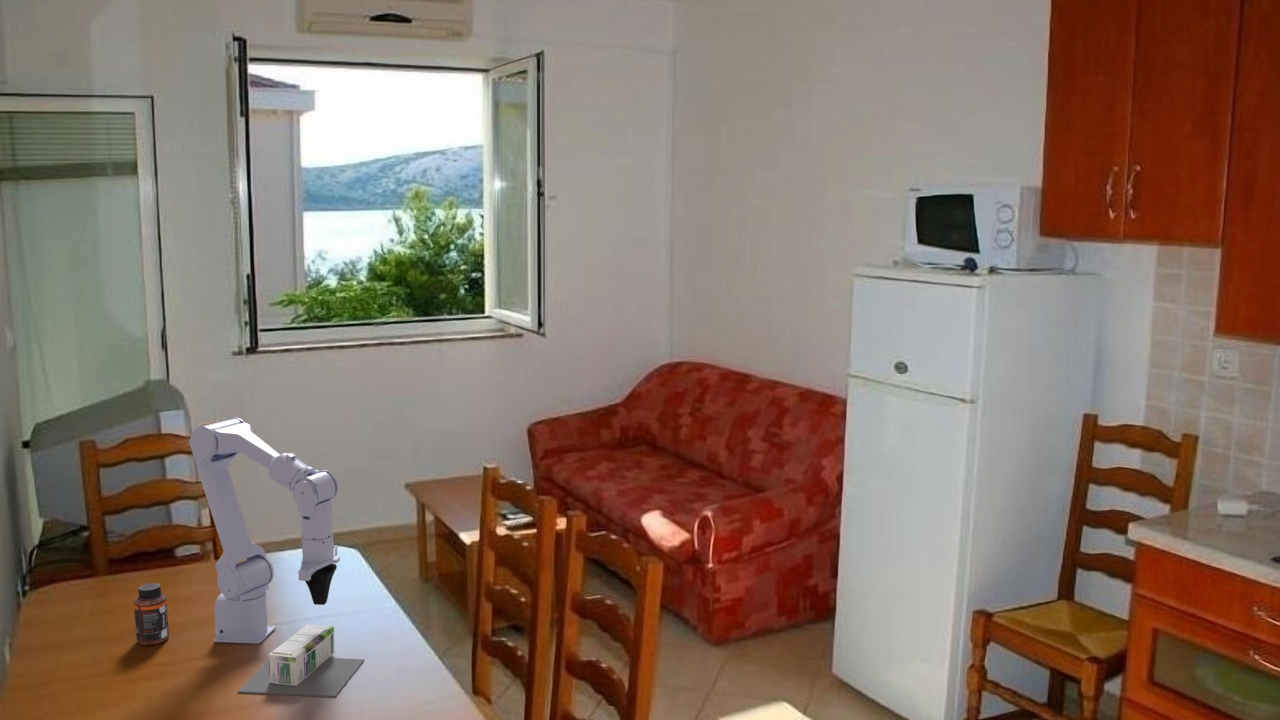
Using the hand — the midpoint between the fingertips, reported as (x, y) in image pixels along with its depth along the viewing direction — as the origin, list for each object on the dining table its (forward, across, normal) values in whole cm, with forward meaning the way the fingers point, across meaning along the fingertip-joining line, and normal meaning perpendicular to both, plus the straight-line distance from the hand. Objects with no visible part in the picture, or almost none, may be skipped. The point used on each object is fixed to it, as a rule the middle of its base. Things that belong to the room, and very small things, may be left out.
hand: (320, 603), depth 205 cm
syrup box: (+7, 0, 0) cm, 7 cm away
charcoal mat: (+10, -10, 0) cm, 14 cm away
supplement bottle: (+11, +3, +36) cm, 38 cm away
